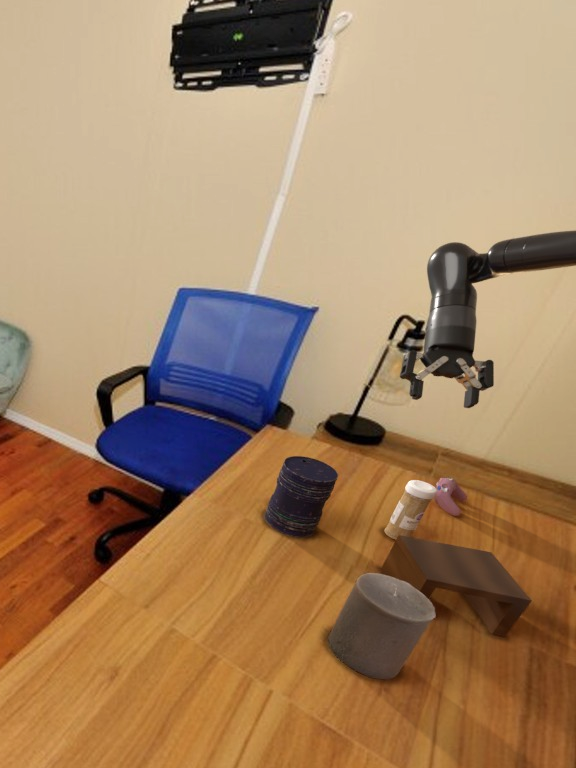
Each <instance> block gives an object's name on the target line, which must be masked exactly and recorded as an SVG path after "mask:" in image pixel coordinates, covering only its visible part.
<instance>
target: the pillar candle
mask: <svg viewBox="0 0 576 768" xmlns="http://www.w3.org/2000/svg"><path fill="white" fill-rule="evenodd" d="M434 618H436V607H435V606H434V604H433V602H432V601H431V600H430V598H429V599H428V598H426V596H425V595H424V594H422V593H421V592H420V591H419V590H417V589H415V588H414V587H413V586H411V585H410V584H409V583H407V582H405V581H401V580H399V579H396V578H394V577H391V576H387V575H384V574H383V573H376V572H369V573H367V572H366V573H364V574H361V575H360V576H359V577H357V579H356V581H355V583H354V585H353V587H352V589H351V591H350V592H349V594H348V596H347V598H346V600H345V602H344V604H343V606H342V608H341V609H340V612H339V614H338V616H337V618H336V620H335V622H334V623H333V627H332V628H331V631H330V632H329V633H328V637H327V644H328V645H329V648H330V650H331V652H332V653H333V654H334V655H335V656H336V658H338V659H339V661H341V662H342V663H343V664H344V665H346V666H347V667H349V668H350V669H352V670H353V671H355V672H357V673H360V674H362V675H363V676H366V677H368V678H373V679H377V680H391V679H393V678H396V677H397V676H398V674H399V672H401V670H402V668H403V667H404V665H405V663H406V662H407V660H408V659H409V657H410V656H411V654H412V652H413V651H414V649H415V647H416V646H417V645H418V643H419V641H420V640H421V638H422V636H423V635H424V633H425V631H426V630H427V628H428V627H429V625H430V624H431V622H432V621H433V620H434Z"/></svg>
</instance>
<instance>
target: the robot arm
mask: <svg viewBox="0 0 576 768" xmlns="http://www.w3.org/2000/svg"><path fill="white" fill-rule="evenodd" d="M426 265H427V266H426V274H427V275H426V276H427V280H428V286H429V287H428V288H429V291H430V295H431V299H430V305H429V314H428V318H427V321H426V325H425V329H424V330H425V333H424V334H425V335H424V345H423V353H421V352H418V351H417V350H416V349H411V350H410V351H408V352H406V353H405V354H404V355H403V358H402V363H401V369H400V372H399V378H400V379H401V380H407V381H409V384H410V385H409V386H410V387H409V393H408V394H409V396H410V397H411V399H412V400H416V401H418V400H420V399H422V397H423V391H424V382H425V381H424V380H423V379H424V378H426V377H427V376H428V375H430V374H431V375H432V376H433V377H443V378H446V379H454V380H456V382H457V383H458V384H460V385H462V386H463V387H464V389H465V390H466V391H464V399H463V408H465V409H471V408H473V407H475V406H476V405H478V404H479V402H480V391H481V392H483V391H486V390H487V389H490V388H492V387H494V385H495V383H494V382H495V381H494V379H495V378H494V377H495V376H494V375H495V374H494V373H495V371H494V368H495V367H494V361H493V360H492V359H487V360H485V361H484V360H476V359H475V358H474V356H473V355H474V352H475V344H476V334H477V333H476V331H477V302H478V293H477V289H476V288H475V286H474V284H478V283H482V282H485V281H488V280H493V279H495V278H499V277H501V276H505V275H513V274H522V273H523V274H524V273H530V272H539V271H546V270H555V269H561V268H568V267H569V268H570V267H576V229H575V230H563V231H562V230H561V231H553V232H546V233H539V234H532V235H526V236H520V237H513V238H510V239H504V240H501V241H498V242H495V243H494V244H492V246H491V247H489V249H488V251H487V252H485V253H483V252H482V253H479V252H478V251H476V250H475V249H474V248H472V247H470V245H467V244H466V243H463V242H460V241H459V242H457V241H456V242H455V241H453V242H447V243H445V244H442V245H441V246H439V247H438V248H436V249H435V250H434V251H433V252H432V253H431V255H430V256H429V258H428V260H427V264H426ZM419 360H420V362H421V363H422V364H423V366H424V368H423V369H421V370H420V371H419V372H417V373H415V372H414V369H415V365H416V363H417V362H419ZM472 367H473V368H474V369H475V370H472V369H471V368H472ZM474 371H475V372H477V375H476V373H475V372H474Z"/></svg>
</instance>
